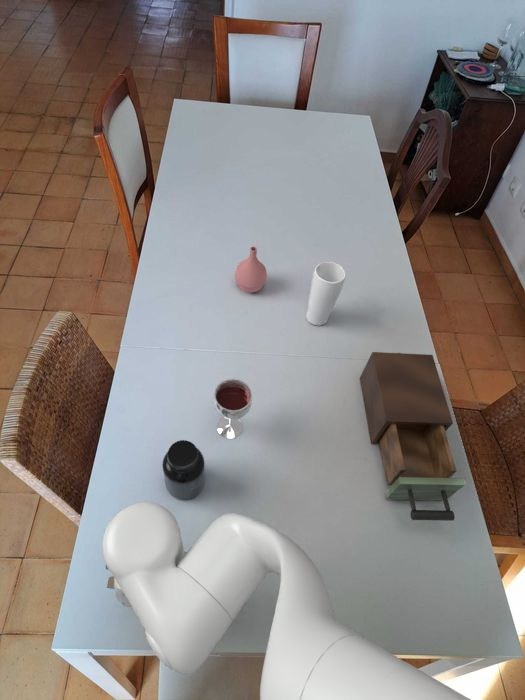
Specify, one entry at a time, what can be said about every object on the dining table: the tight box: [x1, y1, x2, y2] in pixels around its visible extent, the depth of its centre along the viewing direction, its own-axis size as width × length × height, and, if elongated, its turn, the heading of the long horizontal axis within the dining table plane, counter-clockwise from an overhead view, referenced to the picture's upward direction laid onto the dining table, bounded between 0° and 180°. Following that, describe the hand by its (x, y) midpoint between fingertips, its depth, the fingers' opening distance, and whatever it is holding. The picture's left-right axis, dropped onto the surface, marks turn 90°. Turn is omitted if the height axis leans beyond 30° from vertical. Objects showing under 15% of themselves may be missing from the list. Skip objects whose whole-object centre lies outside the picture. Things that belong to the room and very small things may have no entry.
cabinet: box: [359, 351, 454, 445], centre depth 91 cm, size 16×13×10 cm
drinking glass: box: [305, 261, 347, 327], centre depth 102 cm, size 7×7×15 cm
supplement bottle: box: [162, 439, 206, 501], centre depth 76 cm, size 7×7×12 cm
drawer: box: [379, 423, 466, 522], centre depth 82 cm, size 20×11×8 cm, turn 1°
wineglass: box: [213, 378, 253, 440], centre depth 84 cm, size 7×7×12 cm
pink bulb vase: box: [234, 246, 268, 293], centre depth 107 cm, size 8×8×12 cm
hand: (165, 594), depth 67 cm, fingers closed on block, 4 cm apart
